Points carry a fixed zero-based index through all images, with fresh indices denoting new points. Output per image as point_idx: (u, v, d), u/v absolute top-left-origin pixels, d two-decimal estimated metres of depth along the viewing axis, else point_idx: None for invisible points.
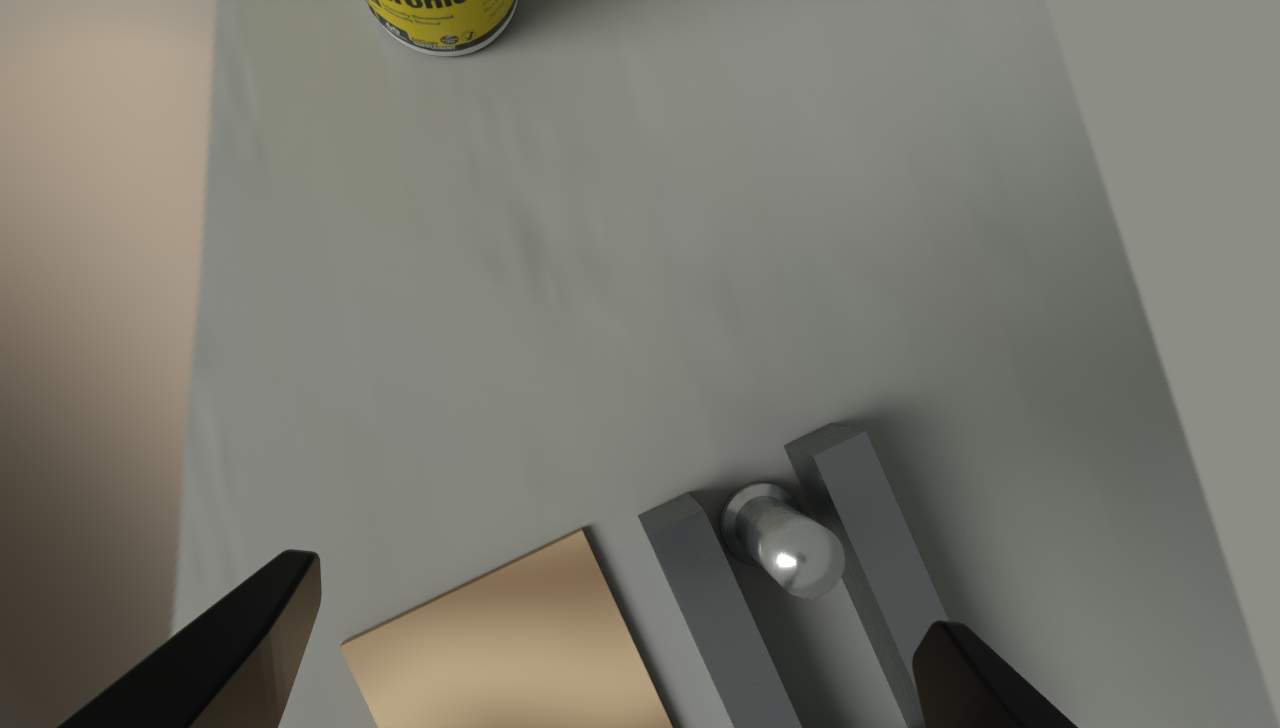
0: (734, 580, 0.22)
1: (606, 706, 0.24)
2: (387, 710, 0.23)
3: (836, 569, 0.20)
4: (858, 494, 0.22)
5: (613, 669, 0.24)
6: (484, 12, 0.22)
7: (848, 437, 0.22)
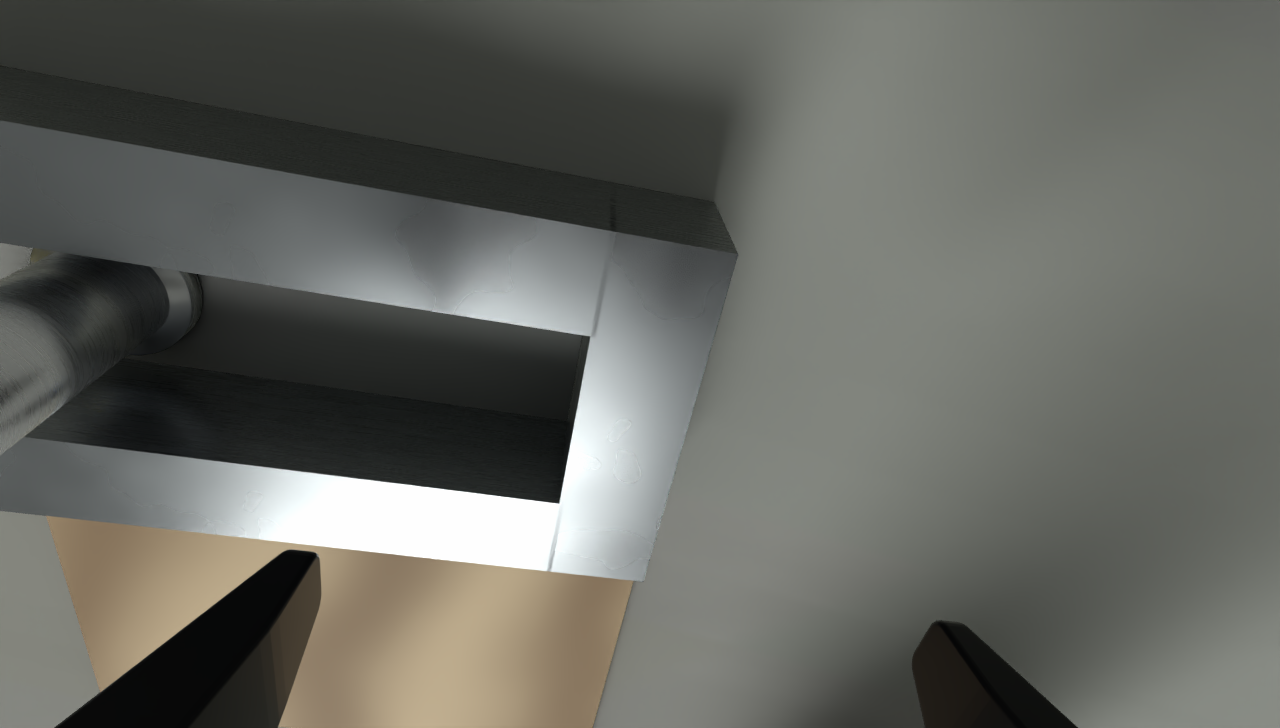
0: (70, 443, 0.13)
1: None
2: None
3: None
4: None
5: (256, 546, 0.18)
6: None
7: None
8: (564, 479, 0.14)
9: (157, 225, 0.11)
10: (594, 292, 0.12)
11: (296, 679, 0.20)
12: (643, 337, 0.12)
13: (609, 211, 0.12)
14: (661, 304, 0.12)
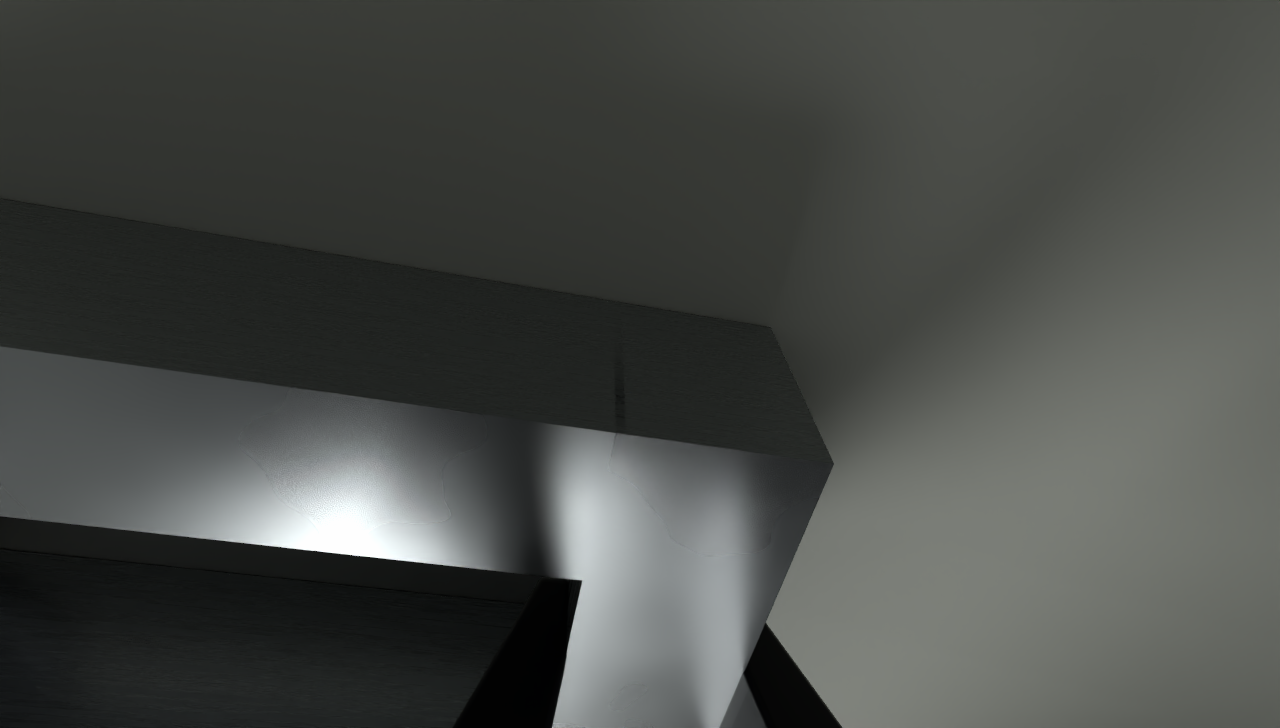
0: None
1: None
2: None
3: None
4: None
5: None
6: None
7: None
8: None
9: None
10: (588, 521, 0.07)
11: None
12: (670, 579, 0.07)
13: (613, 376, 0.07)
14: (700, 534, 0.07)
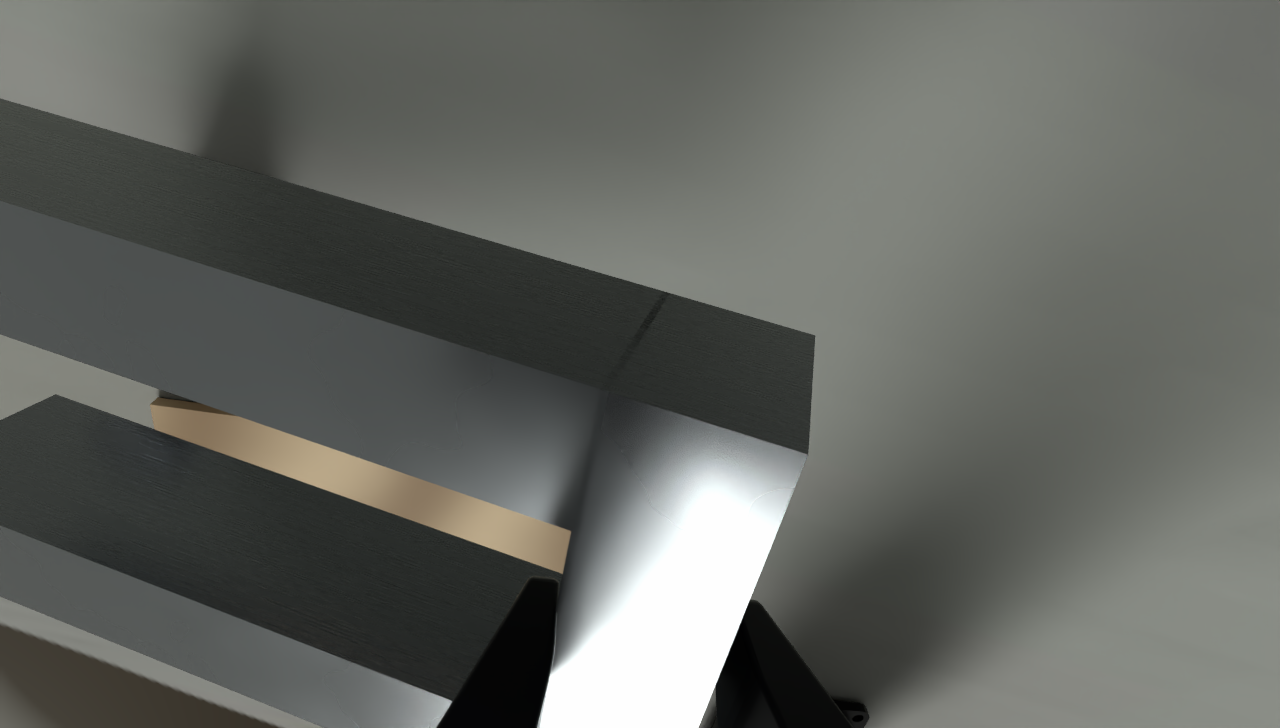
0: (4, 527, 0.11)
1: (357, 476, 0.22)
2: None
3: None
4: None
5: (322, 453, 0.22)
6: None
7: None
8: None
9: (50, 305, 0.08)
10: (576, 472, 0.08)
11: None
12: (650, 547, 0.08)
13: (625, 347, 0.08)
14: (678, 506, 0.07)
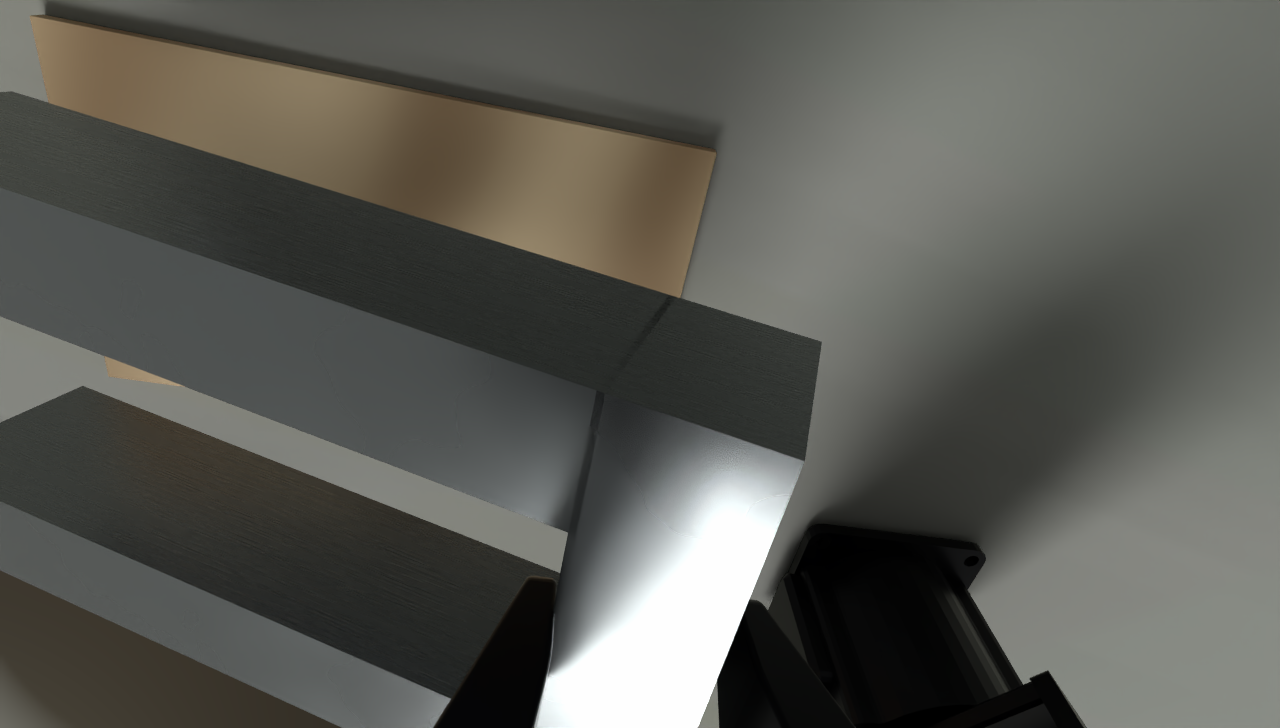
0: (27, 513, 0.11)
1: (332, 155, 0.16)
2: None
3: None
4: None
5: (281, 113, 0.15)
6: None
7: None
8: None
9: (71, 297, 0.09)
10: (573, 473, 0.08)
11: None
12: (647, 551, 0.08)
13: (626, 349, 0.08)
14: (674, 510, 0.07)
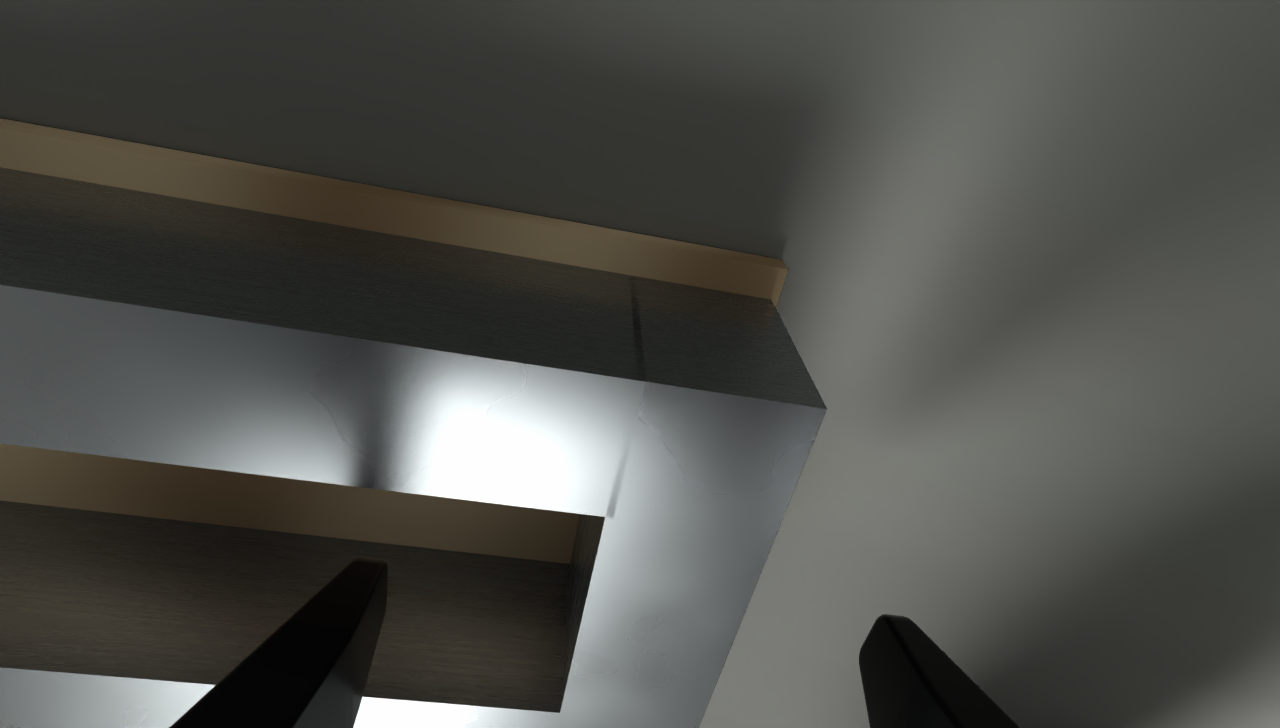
0: None
1: None
2: None
3: None
4: None
5: None
6: None
7: None
8: (567, 684, 0.10)
9: None
10: (611, 461, 0.08)
11: (177, 519, 0.12)
12: (683, 516, 0.08)
13: (632, 336, 0.08)
14: (710, 474, 0.08)
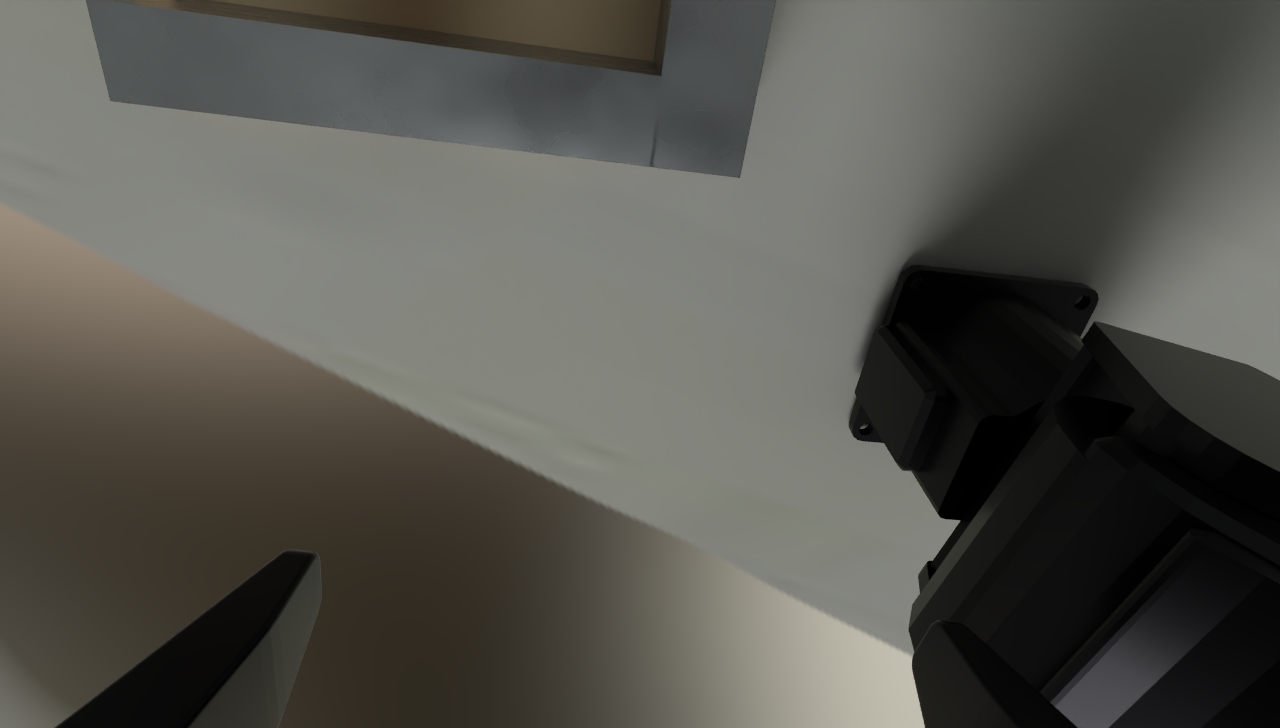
0: (218, 18, 0.14)
1: None
2: None
3: None
4: None
5: None
6: None
7: None
8: (666, 45, 0.15)
9: None
10: None
11: (377, 22, 0.17)
12: None
13: None
14: None
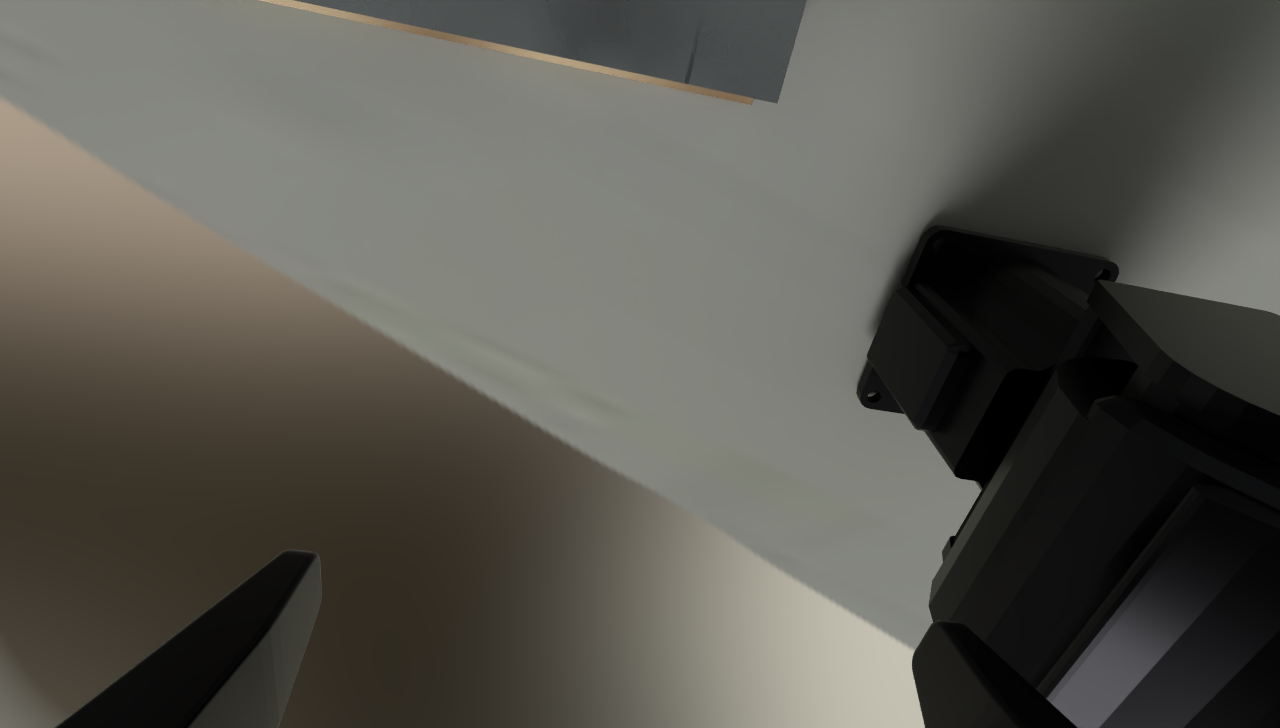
0: None
1: None
2: None
3: None
4: None
5: None
6: None
7: None
8: None
9: None
10: None
11: None
12: None
13: None
14: None
